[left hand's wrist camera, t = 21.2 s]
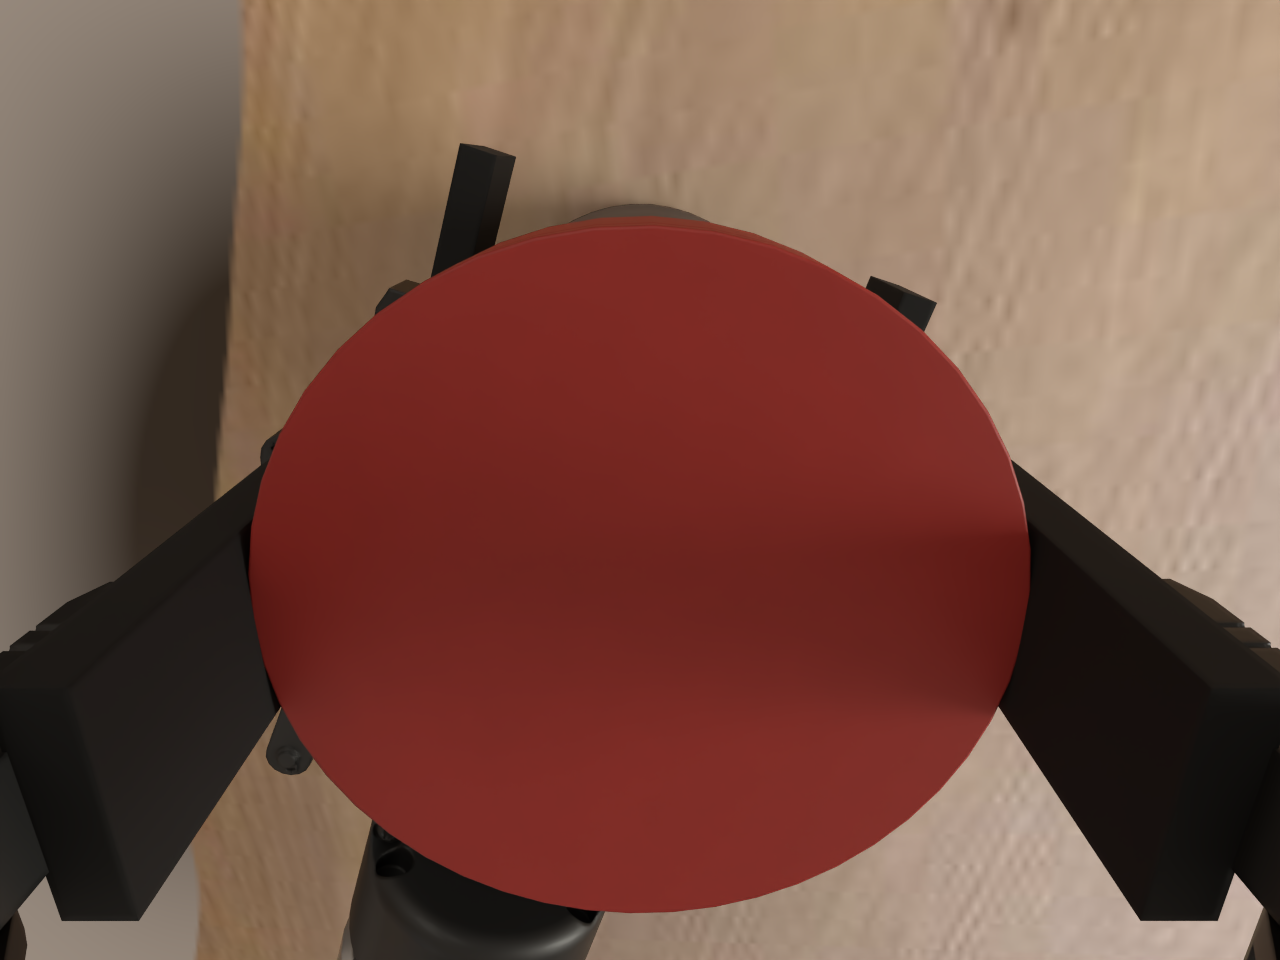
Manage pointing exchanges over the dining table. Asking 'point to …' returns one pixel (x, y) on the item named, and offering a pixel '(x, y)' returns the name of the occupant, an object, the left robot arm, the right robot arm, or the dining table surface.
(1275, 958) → the left robot arm
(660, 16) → the dining table surface
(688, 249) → the lid
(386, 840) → the right robot arm
